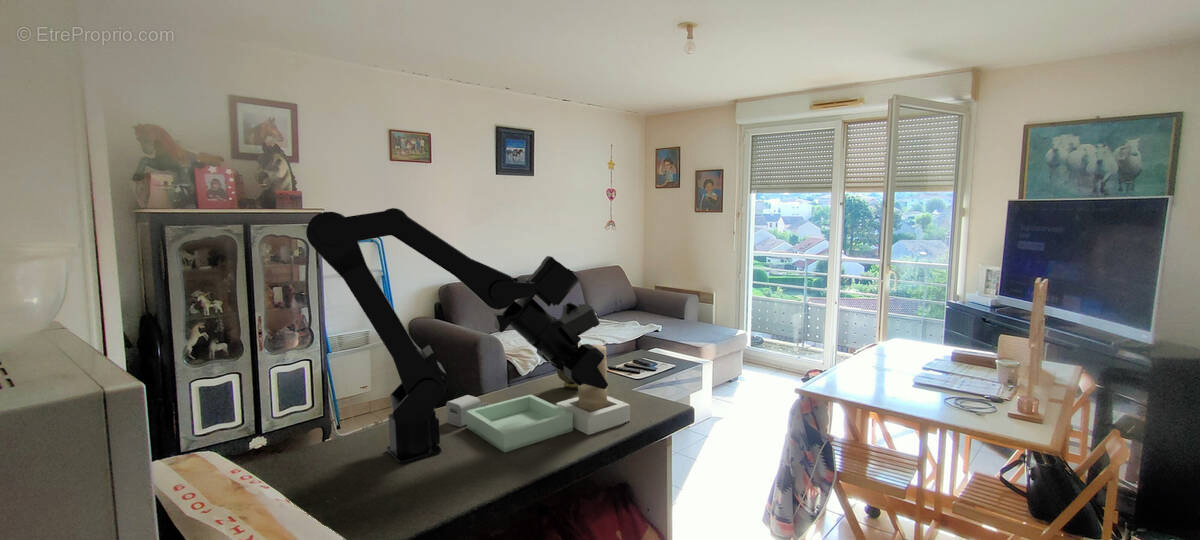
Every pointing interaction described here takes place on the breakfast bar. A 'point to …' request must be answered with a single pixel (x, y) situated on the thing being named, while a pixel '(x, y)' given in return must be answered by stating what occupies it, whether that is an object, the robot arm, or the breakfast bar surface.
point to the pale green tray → (519, 422)
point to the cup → (567, 380)
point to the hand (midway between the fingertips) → (599, 382)
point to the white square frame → (597, 415)
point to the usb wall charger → (461, 409)
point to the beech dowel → (594, 389)
